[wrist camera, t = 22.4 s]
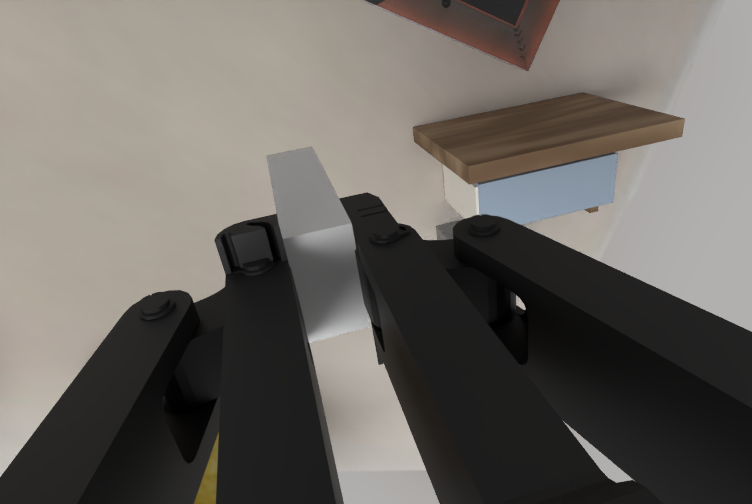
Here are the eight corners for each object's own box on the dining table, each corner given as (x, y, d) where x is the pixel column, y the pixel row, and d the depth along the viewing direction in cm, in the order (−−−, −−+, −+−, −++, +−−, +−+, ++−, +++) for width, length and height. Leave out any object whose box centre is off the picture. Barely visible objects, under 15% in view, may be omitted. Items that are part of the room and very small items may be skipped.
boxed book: (441, 158, 53) (476, 185, 45) (563, 132, 55) (617, 153, 47) (444, 202, 55) (478, 234, 47) (562, 175, 57) (613, 202, 49)
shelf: (412, 127, 50) (468, 166, 38) (582, 92, 53) (684, 118, 41) (424, 235, 56) (475, 299, 44) (576, 198, 59) (664, 249, 47)
